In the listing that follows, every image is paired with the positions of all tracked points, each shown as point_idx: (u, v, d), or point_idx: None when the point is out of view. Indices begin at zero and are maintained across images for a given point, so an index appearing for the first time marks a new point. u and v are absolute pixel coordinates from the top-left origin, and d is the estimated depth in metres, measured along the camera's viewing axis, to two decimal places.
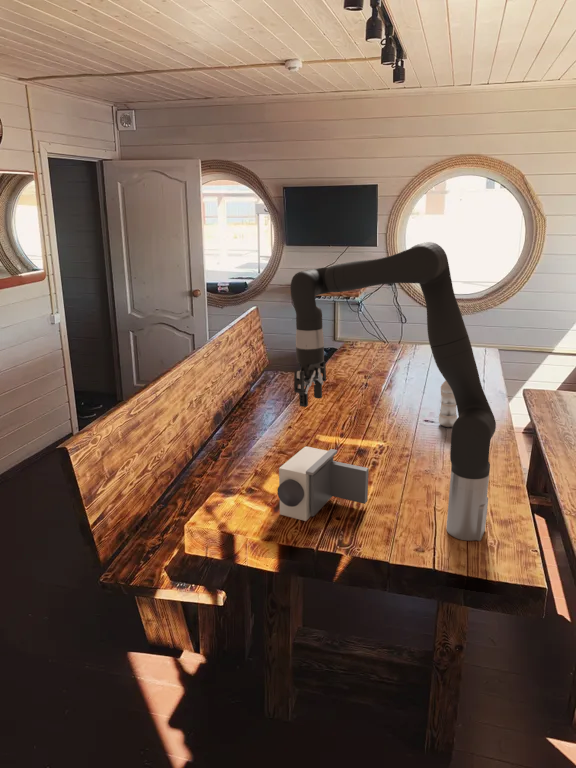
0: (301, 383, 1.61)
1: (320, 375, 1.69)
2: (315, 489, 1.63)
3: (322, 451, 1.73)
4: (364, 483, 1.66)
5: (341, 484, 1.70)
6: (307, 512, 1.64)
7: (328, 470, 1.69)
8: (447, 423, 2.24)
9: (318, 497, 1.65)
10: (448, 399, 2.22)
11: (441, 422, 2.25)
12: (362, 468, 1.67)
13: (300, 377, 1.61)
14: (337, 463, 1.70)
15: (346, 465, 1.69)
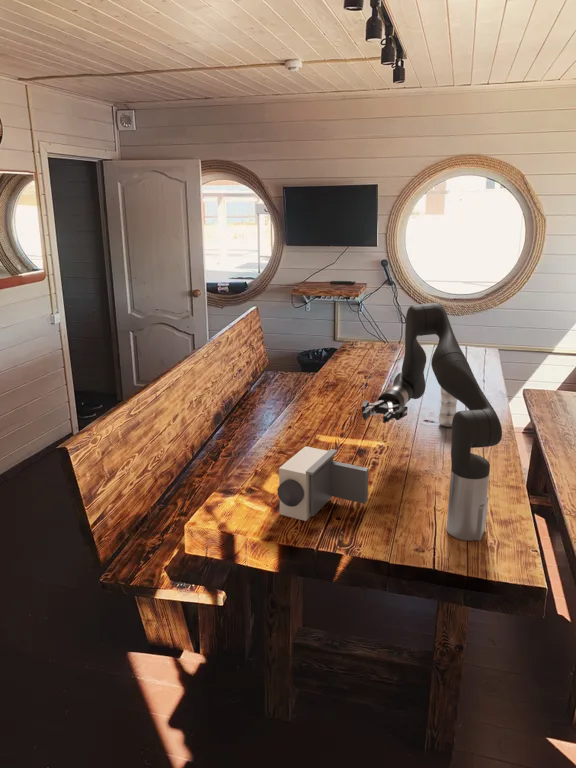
0: (363, 404, 1.83)
1: (390, 405, 1.80)
2: (315, 489, 1.63)
3: (322, 451, 1.73)
4: (364, 483, 1.66)
5: (341, 484, 1.70)
6: (307, 512, 1.64)
7: (328, 470, 1.69)
8: (447, 423, 2.24)
9: (318, 497, 1.65)
10: (448, 399, 2.22)
11: (441, 422, 2.25)
12: (362, 468, 1.67)
13: None
14: (337, 463, 1.70)
15: (346, 465, 1.69)
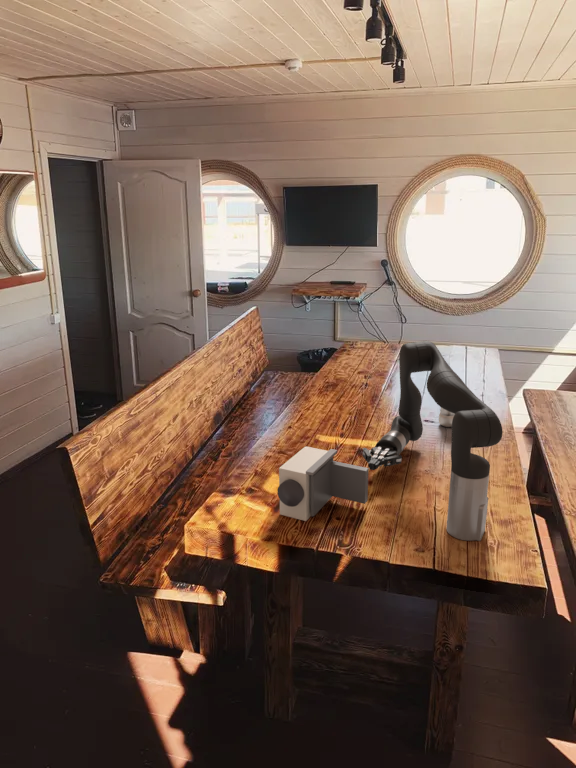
0: (365, 453, 1.86)
1: (384, 452, 1.84)
2: (315, 489, 1.63)
3: (322, 451, 1.73)
4: (364, 483, 1.66)
5: (341, 484, 1.70)
6: (307, 512, 1.64)
7: (328, 470, 1.69)
8: (447, 423, 2.24)
9: (318, 497, 1.65)
10: None
11: (441, 422, 2.25)
12: (362, 468, 1.67)
13: (363, 451, 1.88)
14: (337, 463, 1.70)
15: (346, 465, 1.69)
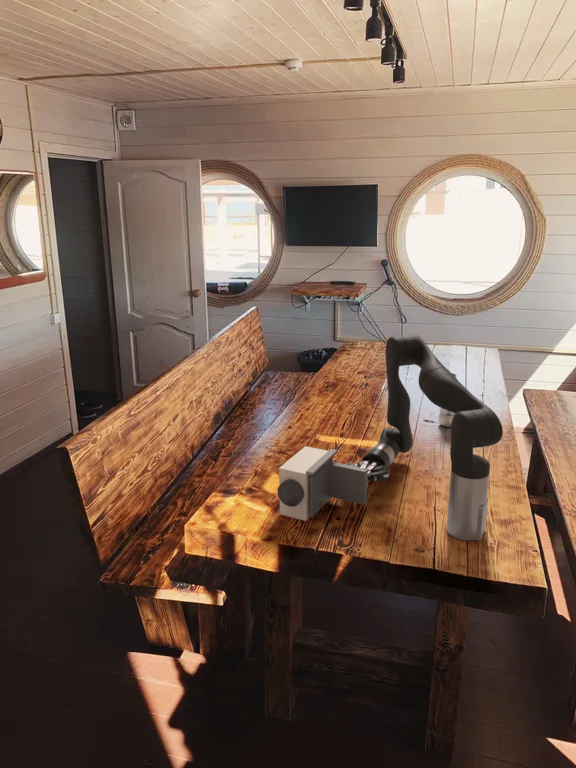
0: None
1: (371, 467, 1.75)
2: (314, 490, 1.62)
3: (322, 451, 1.73)
4: (363, 484, 1.66)
5: (340, 484, 1.70)
6: (307, 512, 1.64)
7: (327, 471, 1.69)
8: (447, 423, 2.24)
9: (317, 498, 1.65)
10: None
11: (441, 422, 2.25)
12: (361, 469, 1.66)
13: None
14: (336, 464, 1.69)
15: (345, 465, 1.68)
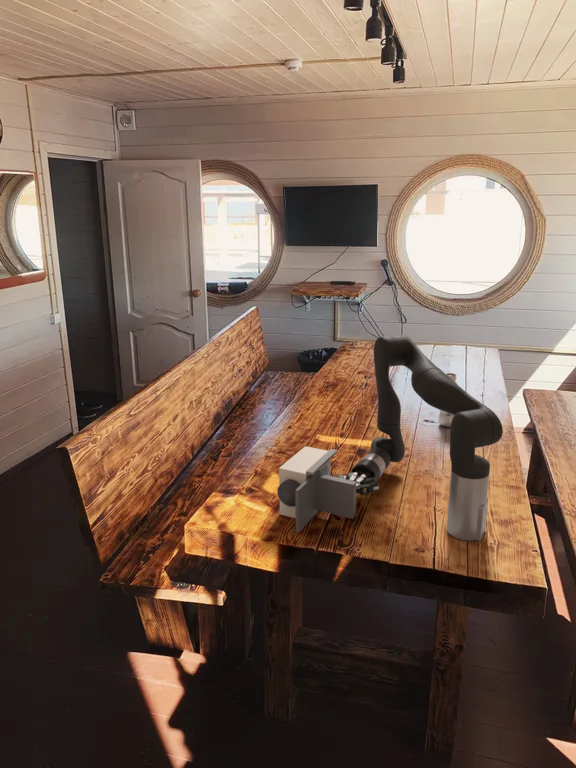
0: None
1: (360, 479, 1.68)
2: (300, 504, 1.55)
3: (322, 451, 1.73)
4: (352, 497, 1.59)
5: (327, 497, 1.63)
6: None
7: (314, 483, 1.62)
8: (447, 423, 2.24)
9: (303, 512, 1.58)
10: None
11: (441, 422, 2.25)
12: (350, 481, 1.59)
13: None
14: (323, 476, 1.62)
15: (333, 478, 1.61)
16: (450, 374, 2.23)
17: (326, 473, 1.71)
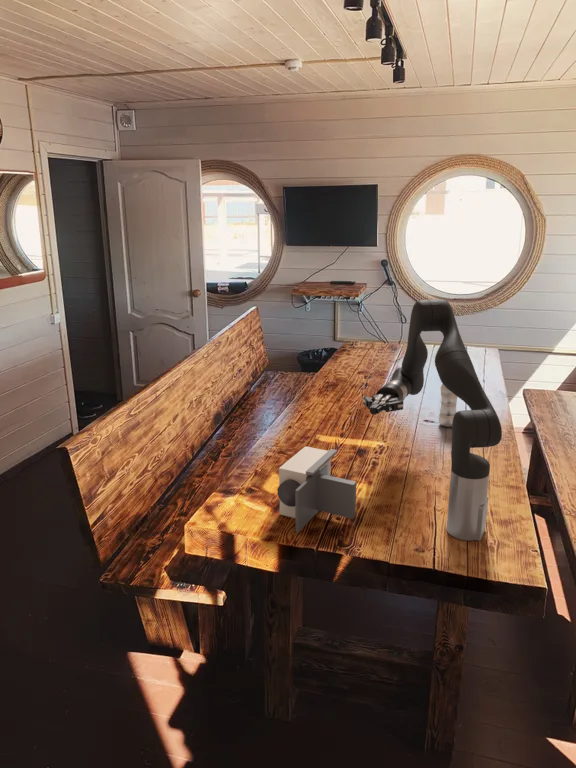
0: (366, 399, 1.81)
1: (385, 398, 1.79)
2: (300, 504, 1.55)
3: (322, 451, 1.73)
4: (352, 497, 1.59)
5: (327, 498, 1.62)
6: None
7: (314, 483, 1.62)
8: (447, 423, 2.24)
9: (303, 512, 1.58)
10: (448, 399, 2.22)
11: (441, 422, 2.25)
12: (350, 482, 1.59)
13: (364, 399, 1.82)
14: (323, 476, 1.62)
15: (333, 478, 1.61)
16: None
17: (326, 473, 1.71)
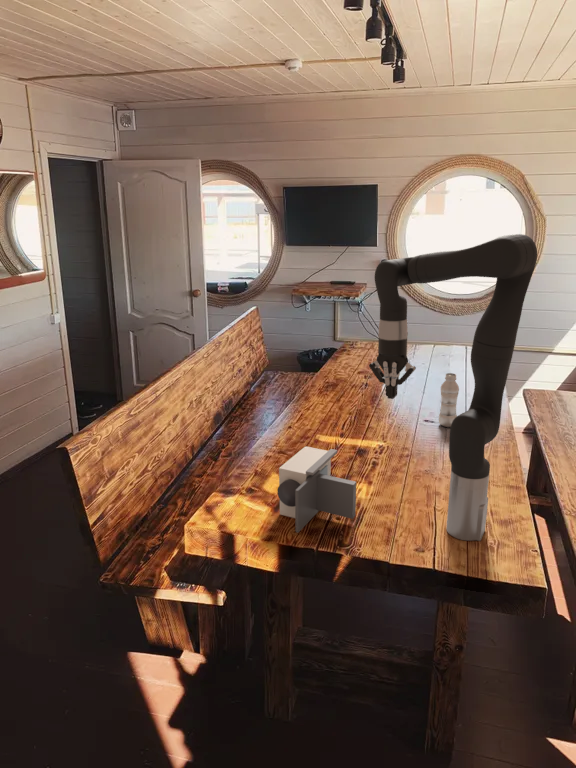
0: (375, 374, 1.66)
1: (393, 372, 1.62)
2: (300, 504, 1.55)
3: (322, 451, 1.73)
4: (352, 497, 1.59)
5: (327, 498, 1.62)
6: None
7: (314, 483, 1.62)
8: (447, 423, 2.24)
9: (303, 512, 1.58)
10: (448, 399, 2.22)
11: (441, 422, 2.25)
12: (350, 482, 1.59)
13: None
14: (323, 476, 1.62)
15: (333, 478, 1.61)
16: (450, 374, 2.23)
17: (326, 473, 1.71)
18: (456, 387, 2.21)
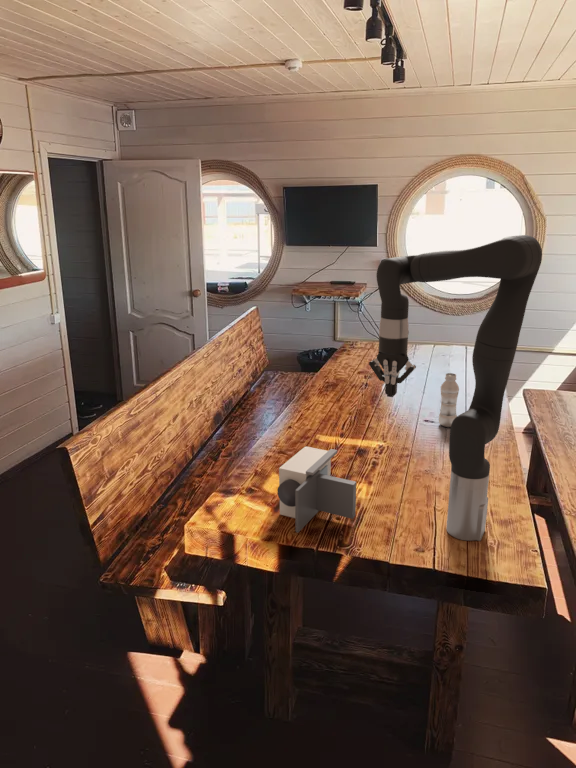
0: (375, 372, 1.65)
1: (394, 370, 1.62)
2: (300, 504, 1.55)
3: (322, 451, 1.73)
4: (352, 497, 1.59)
5: (327, 498, 1.62)
6: None
7: (314, 483, 1.62)
8: (447, 423, 2.24)
9: (303, 512, 1.58)
10: (448, 399, 2.22)
11: (441, 422, 2.25)
12: (350, 482, 1.59)
13: None
14: (323, 476, 1.62)
15: (333, 478, 1.61)
16: (450, 374, 2.23)
17: (326, 473, 1.71)
18: (456, 387, 2.21)
